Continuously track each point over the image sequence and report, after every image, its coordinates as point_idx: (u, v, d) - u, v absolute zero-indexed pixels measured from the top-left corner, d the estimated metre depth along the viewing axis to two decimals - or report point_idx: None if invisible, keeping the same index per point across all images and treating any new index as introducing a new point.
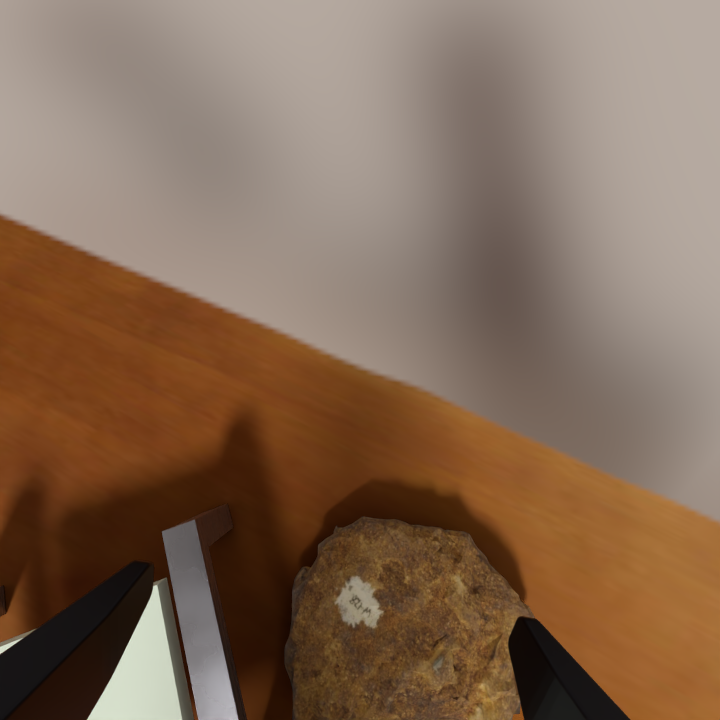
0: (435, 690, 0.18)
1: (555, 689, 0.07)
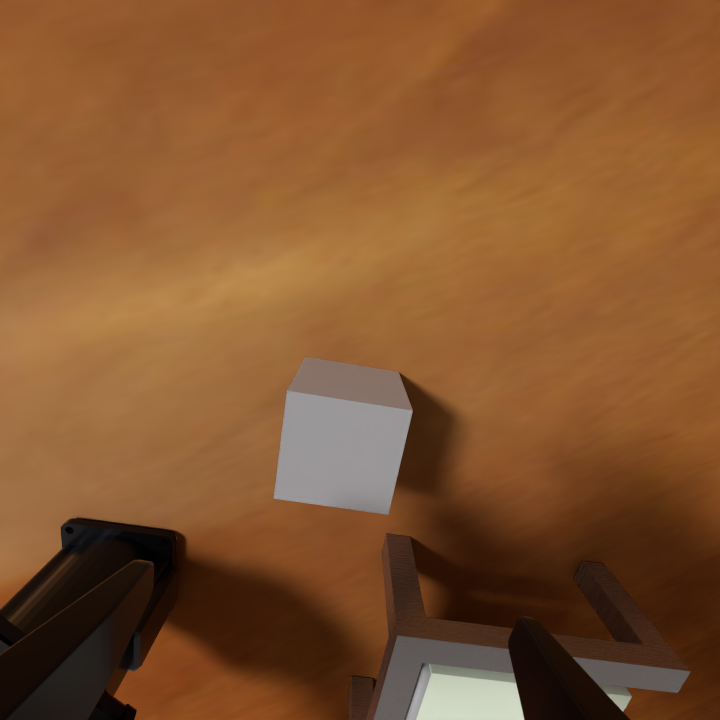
0: None
1: (555, 689, 0.07)
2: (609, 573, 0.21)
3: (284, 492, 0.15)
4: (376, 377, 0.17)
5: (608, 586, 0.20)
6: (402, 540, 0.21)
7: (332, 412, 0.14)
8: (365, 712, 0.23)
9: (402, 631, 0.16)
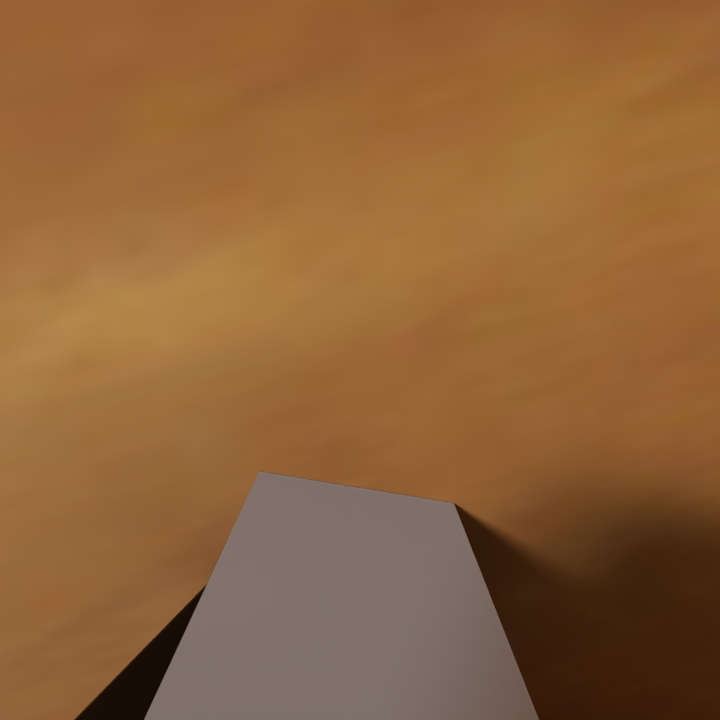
0: None
1: None
2: None
3: None
4: (415, 544, 0.07)
5: None
6: None
7: None
8: None
9: None
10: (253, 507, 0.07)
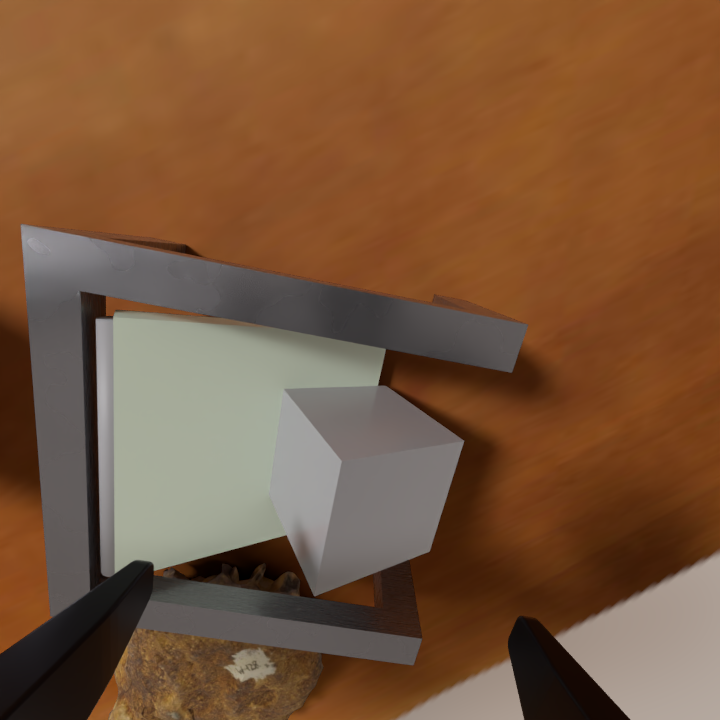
0: (154, 701, 0.19)
1: (555, 689, 0.07)
2: (467, 302, 0.15)
3: (327, 583, 0.11)
4: (382, 401, 0.14)
5: (455, 301, 0.14)
6: (168, 241, 0.15)
7: (391, 469, 0.11)
8: None
9: (37, 226, 0.09)
10: (300, 402, 0.13)
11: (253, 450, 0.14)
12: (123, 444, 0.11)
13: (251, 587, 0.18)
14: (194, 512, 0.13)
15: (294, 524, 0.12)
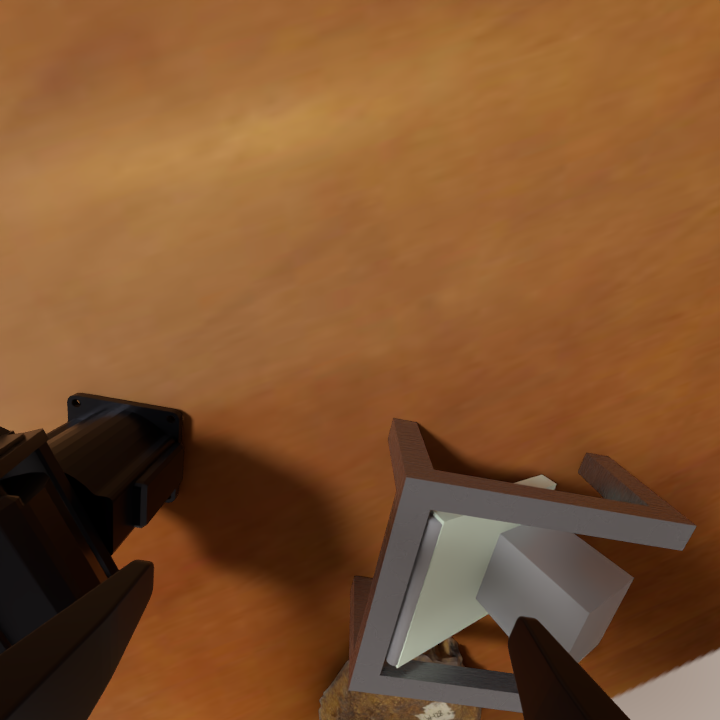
0: None
1: (555, 689, 0.07)
2: (614, 462, 0.21)
3: None
4: (560, 537, 0.21)
5: (613, 469, 0.20)
6: (408, 423, 0.21)
7: (603, 607, 0.17)
8: None
9: (411, 475, 0.16)
10: (521, 549, 0.19)
11: (476, 573, 0.20)
12: (424, 586, 0.18)
13: (433, 656, 0.25)
14: (441, 618, 0.20)
15: None
